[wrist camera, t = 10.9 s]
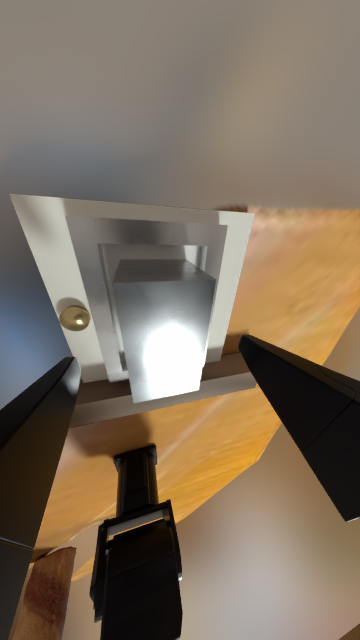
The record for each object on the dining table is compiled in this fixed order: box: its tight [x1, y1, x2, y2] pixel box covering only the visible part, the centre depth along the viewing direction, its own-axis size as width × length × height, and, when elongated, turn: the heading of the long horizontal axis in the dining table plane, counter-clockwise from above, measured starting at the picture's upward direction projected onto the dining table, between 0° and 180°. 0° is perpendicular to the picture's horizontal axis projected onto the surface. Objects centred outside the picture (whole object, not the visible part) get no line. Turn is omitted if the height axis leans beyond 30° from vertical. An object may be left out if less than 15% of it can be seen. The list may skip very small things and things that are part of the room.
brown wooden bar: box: [69, 352, 257, 428], centre depth 17 cm, size 3×22×3 cm, turn 87°
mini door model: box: [9, 194, 255, 383], centre depth 13 cm, size 14×14×2 cm
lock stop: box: [112, 259, 216, 403], centre depth 11 cm, size 8×4×5 cm, turn 177°
